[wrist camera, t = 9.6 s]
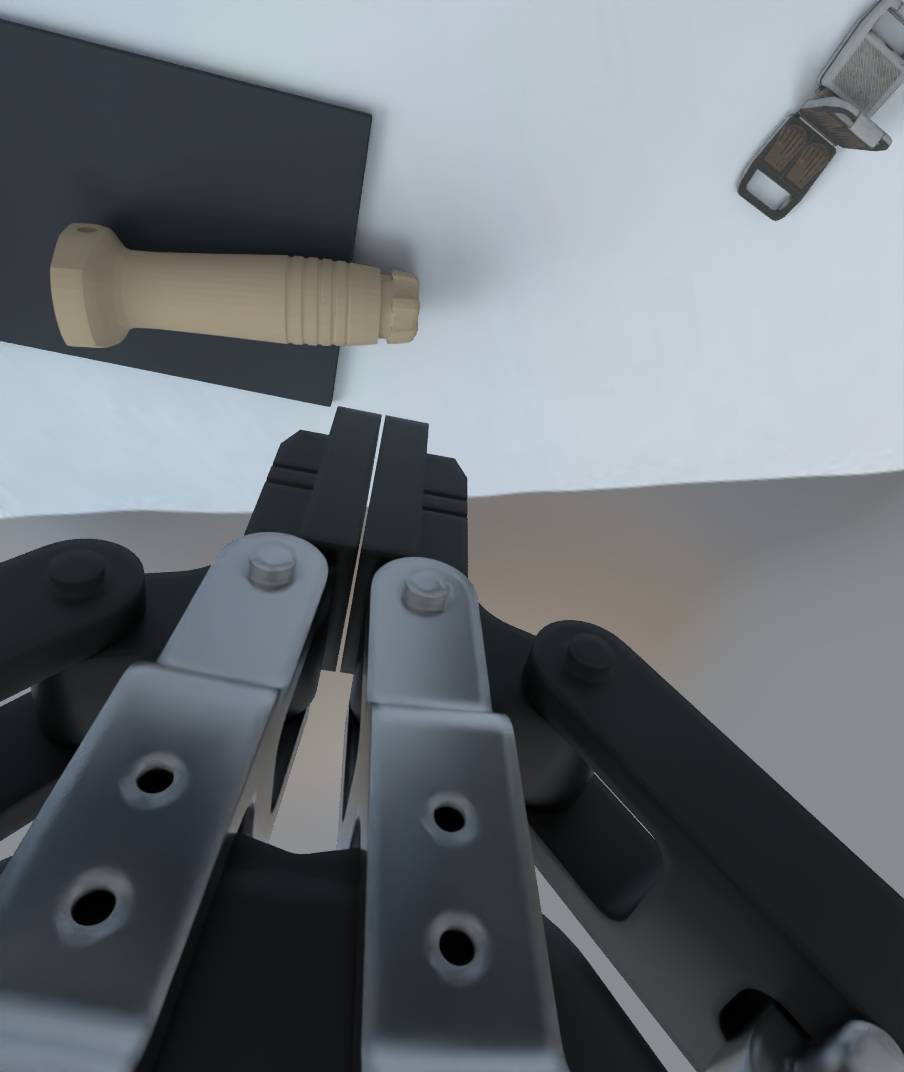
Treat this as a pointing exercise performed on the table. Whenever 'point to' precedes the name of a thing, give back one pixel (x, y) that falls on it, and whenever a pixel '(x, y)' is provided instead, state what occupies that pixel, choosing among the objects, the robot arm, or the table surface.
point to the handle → (223, 295)
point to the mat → (168, 192)
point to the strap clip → (832, 113)
